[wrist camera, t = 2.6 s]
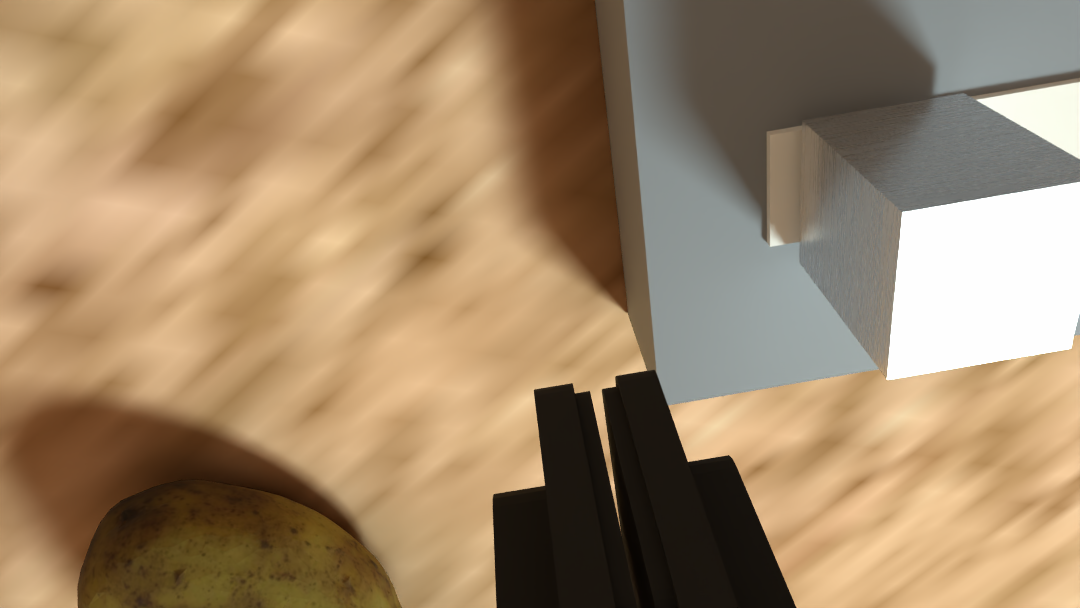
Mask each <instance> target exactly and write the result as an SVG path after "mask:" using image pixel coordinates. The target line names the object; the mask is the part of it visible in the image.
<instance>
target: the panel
mask: <svg viewBox="0 0 1080 608" xmlns="http://www.w3.org/2000/svg"><path fill="white" fill-rule="evenodd" d="M595 6H596V16H597V25H598V34H599V44H600V53H601V63H602V72H603V81H604V91H605V100H606V110H607V119H608V128H609V138H610V147H611V157H612V166H613V175H614V185H615V194H616V204H617V213H618V222H619V232H620V241H621V251H622V260H623V269H624V279H625V288H626V298H627V307H628V315H629V318H630V321H631V324H632V327H633V330H634V333H635V336H636V339H637V342H638V345H639V348H640V351H641V354H642V357H643V359H644V362H645V365H646V368H647V371H650V370H655V371H656V373H657V376H658V378H659V381H660V384H661V387H662V390H663V393H664V396H665V399H666V401H667V404H668V405H673V404H679V403H684V402H690V401H696V400H702V399H708V398H713V397H719V396H725V395H731V394H737V393H743V392H748V391H754V390H760V389H766V388H772V387H778V386H783V385H789V384H795V383H801V382H807V381H812V380H818V379H824V378H830V377H836V376H842V375H847V374H853V373H859V372H865V371H871V370H877V369H879V368H878V367H877V366H876V364H875V363H874V362H873V360H872V359H871V358H870V356H869V355H868V354H867V352H866V351H865V350H864V348H863V347H862V346H861V344H860V343H859V342H858V340H857V339H856V338H855V336H854V335H853V334H852V332H851V331H850V330H849V328H848V327H847V326H846V324H845V323H844V322H843V320H842V319H841V318H840V316H839V315H838V314H837V312H836V311H835V310H834V308H833V307H832V306H831V304H830V303H829V302H828V300H827V299H826V298H825V296H824V295H823V294H822V292H821V291H820V290H819V288H818V287H817V286H816V284H815V283H814V282H813V280H812V279H811V278H810V276H809V275H808V274H807V272H806V271H805V270H804V268H803V267H802V266H801V264H800V263H799V249H800V202H801V155H802V121H803V120H809V119H815V118H821V117H826V116H832V115H838V114H844V113H850V112H856V111H861V110H867V109H873V108H879V107H885V106H891V105H896V104H902V103H908V102H914V101H920V100H925V99H931V98H937V97H943V96H949V95H955V94H960V93H965V94H966V95H968V96H970V97H972V98H973V99H975V100H977V101H979V102H980V103H982V104H984V105H985V106H987V107H989V108H991V109H992V110H994V111H996V112H998V113H999V114H1001V115H1003V116H1005V117H1006V118H1008V119H1010V120H1012V121H1013V122H1015V123H1017V124H1019V125H1020V126H1022V127H1024V128H1026V129H1027V130H1029V131H1031V132H1033V133H1034V134H1036V135H1038V136H1040V137H1041V138H1043V139H1045V140H1047V141H1048V142H1050V143H1052V144H1054V145H1055V146H1057V147H1059V148H1061V149H1062V150H1064V151H1066V152H1068V153H1069V154H1071V155H1073V156H1075V157H1076V158H1078V159H1080V0H595ZM1075 335H1080V310H1079V314H1078V319H1077V323H1076V327H1075V332H1074V336H1075Z"/></svg>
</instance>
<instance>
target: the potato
mask: <svg viewBox="0 0 1080 608" xmlns="http://www.w3.org/2000/svg"><path fill="white" fill-rule="evenodd" d="M78 608H402V607H401V605H400V602H399V600H398V597H397V595H396V592H395V590H394V587H393V584H392V583H391V581H390V579H389V577H388V575H387V574H386V572H385V570H384V569H383V567H382V566H381V564H380V563H379V562H378V561H377V559H376V558H375V557H374V556H373V555H372V554H371V553H370V552H369V551H368V550H367V549H366V548H365V547H364V546H363V545H361V544H360V543H359V542H358V541H357V540H356V539H355V538H353V537H352V536H351V535H350V534H349V533H347V532H346V531H345V530H343V529H342V528H341V527H339V526H338V525H337V524H335V523H334V522H332V521H331V520H330V519H328V518H327V517H325V516H323V515H322V514H320V513H318V512H317V511H315V510H313V509H311V508H308V507H306V506H304V505H302V504H299V503H297V502H295V501H292V500H290V499H288V498H285V497H282V496H279V495H276V494H272V493H268V492H264V491H260V490H255V489H250V488H245V487H240V486H235V485H230V484H224V483H218V482H211V481H205V480H181V481H176V482H171V483H167V484H162V485H159V486H156V487H153V488H150V489H148V490H145V491H143V492H140V493H138V494H136V495H133V496H131V497H129V498H126V499H124V500H122V501H120V502H119V503H118V504H117V505H115V506H114V507H113V508H111V509H110V511H109V512H108V513H107V514H106V516H105V517H104V518H103V520H102V521H101V522H100V524H99V526H98V528H97V530H96V532H95V534H94V537H93V539H92V541H91V544H90V547H89V549H88V552H87V555H86V557H85V560H84V563H83V566H82V568H81V572H80V577H79V582H78Z"/></svg>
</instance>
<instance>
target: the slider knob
mask: <svg viewBox="0 0 1080 608" xmlns="http://www.w3.org/2000/svg"><path fill="white" fill-rule="evenodd" d="M799 263H800V264H801V266H802V267H803V268H804V270H805V271H806V272H807V274H808V275H809V276H810V278H811V279H812V280H813V282H814V283H815V284H816V286H817V287H818V288H819V290H820V291H821V292H822V294H823V295H824V296H825V298H826V299H827V300H828V302H829V303H830V304H831V306H832V307H833V308H834V310H835V311H836V312H837V314H838V315H839V316H840V318H841V319H842V320H843V322H844V323H845V324H846V326H847V327H848V328H849V330H850V331H851V332H852V334H853V335H854V336H855V338H856V339H857V340H858V342H859V343H860V344H861V346H862V347H863V348H864V350H865V351H866V352H867V354H868V355H869V356H870V358H871V359H872V360H873V362H874V363H875V364H876V366H877V367H878V368H879V370H880V371H881V372H882V374H883V375H884V376H885V378H886V379H887V380H889V379H895V378H900V377H906V376H912V375H918V374H924V373H930V372H935V371H941V370H947V369H953V368H959V367H965V366H970V365H976V364H982V363H988V362H994V361H999V360H1005V359H1011V358H1017V357H1023V356H1029V355H1034V354H1040V353H1046V352H1052V351H1058V350H1064V349H1069V348H1071V345H1072V340H1073V336H1074V332H1075V327H1076V323H1077V319H1078V314H1079V310H1080V159H1078V158H1076V157H1075V156H1073V155H1071V154H1069V153H1068V152H1066V151H1064V150H1062V149H1061V148H1059V147H1057V146H1055V145H1054V144H1052V143H1050V142H1048V141H1047V140H1045V139H1043V138H1041V137H1040V136H1038V135H1036V134H1034V133H1033V132H1031V131H1029V130H1027V129H1026V128H1024V127H1022V126H1020V125H1019V124H1017V123H1015V122H1013V121H1012V120H1010V119H1008V118H1006V117H1005V116H1003V115H1001V114H999V113H998V112H996V111H994V110H992V109H991V108H989V107H987V106H985V105H984V104H982V103H980V102H979V101H977V100H975V99H973V98H972V97H970V96H968V95H966V94H965V93H960V94H955V95H949V96H943V97H937V98H931V99H925V100H920V101H914V102H908V103H902V104H896V105H891V106H885V107H879V108H873V109H867V110H861V111H856V112H850V113H844V114H838V115H832V116H826V117H821V118H815V119H809V120H803V121H802V155H801V202H800V249H799Z"/></svg>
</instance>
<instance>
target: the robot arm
mask: <svg viewBox="0 0 1080 608" xmlns="http://www.w3.org/2000/svg"><path fill="white" fill-rule="evenodd" d="M615 380H616V387H612V388H606V389H602V395H603V403H604V410H605V417H606V425H607V432H608V439H609V447H610V454H611V461H612V469H613V476H614V484H615V491H616V498H617V506H618V513H619V520H620V526H619V522H618V517H617V513H616V508H615V503H614V499H613V494H612V490H611V485H610V481H609V476H608V472H607V467H606V462H605V458H604V453H603V449H602V444H601V440H600V435H599V431H598V426H597V421H596V417H595V412H594V408H593V403H592V399H591V394H590V391H588V392H582V393H576V394H575V393H574V388H573V384H572V383H571V384H565V385H559V386H553V387H547V388H541V389H535V390H534V396H535V404H536V413H537V421H538V429H539V438H540V446H541V454H542V463H543V471H544V479H545V486H541V487H535V488H529V489H523V490H517V491H511V492H505V493H499V494H494V495H493V525H494V551H495V577H496V603H497V608H796V606H795V604H794V601H793V599H792V596H791V594H790V592H789V589H788V587H787V585H786V582H785V580H784V578H783V575H782V573H781V571H780V568H779V566H778V563H777V561H776V559H775V556H774V554H773V552H772V549H771V547H770V545H769V542H768V540H767V538H766V535H765V533H764V530H763V528H762V526H761V523H760V521H759V519H758V516H757V514H756V512H755V509H754V507H753V505H752V502H751V500H750V497H749V495H748V493H747V490H746V488H745V486H744V483H743V481H742V479H741V476H740V474H739V471H738V469H737V467H736V465H735V463H734V461H733V459H732V458H731V457H730V456H729V455H728V456H722V457H716V458H710V459H704V460H698V461H692V462H688V461H687V459H686V456H685V453H684V450H683V447H682V444H681V441H680V439H679V436H678V433H677V430H676V427H675V424H674V421H673V419H672V416H671V413H670V410H669V407H668V404H667V401H666V399H665V396H664V393H663V390H662V387H661V384H660V381H659V378H658V376H657V373H656V371H655V370H650V371H644V372H638V373H632V374H626V375H620V376H616V377H615ZM620 528H621V531H620ZM621 534H622V535H621Z"/></svg>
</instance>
